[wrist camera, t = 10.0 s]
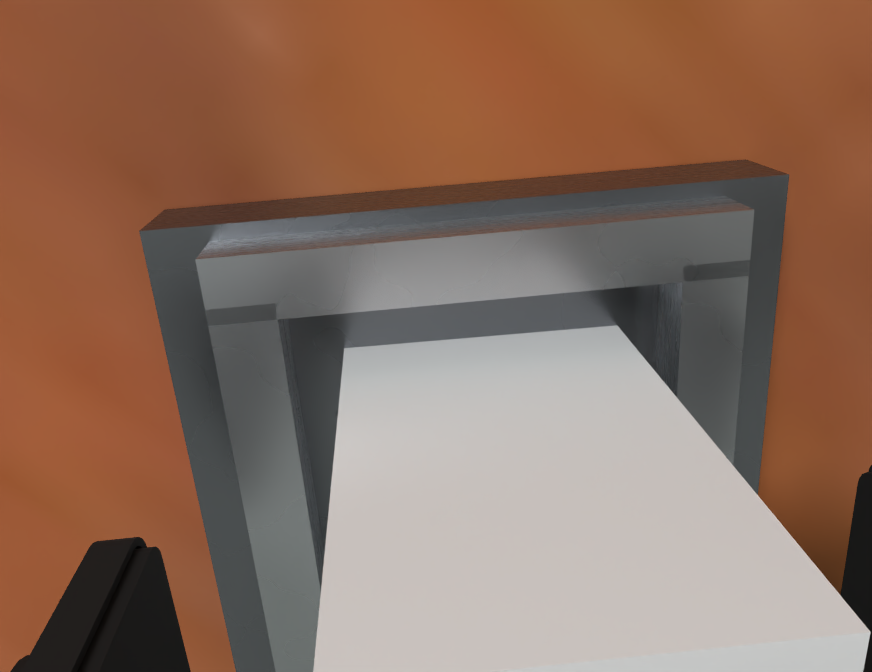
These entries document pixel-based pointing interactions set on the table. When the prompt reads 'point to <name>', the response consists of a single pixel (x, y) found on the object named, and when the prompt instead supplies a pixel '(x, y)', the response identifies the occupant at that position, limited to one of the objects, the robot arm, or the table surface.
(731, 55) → the table surface
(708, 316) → the rail
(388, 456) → the block
